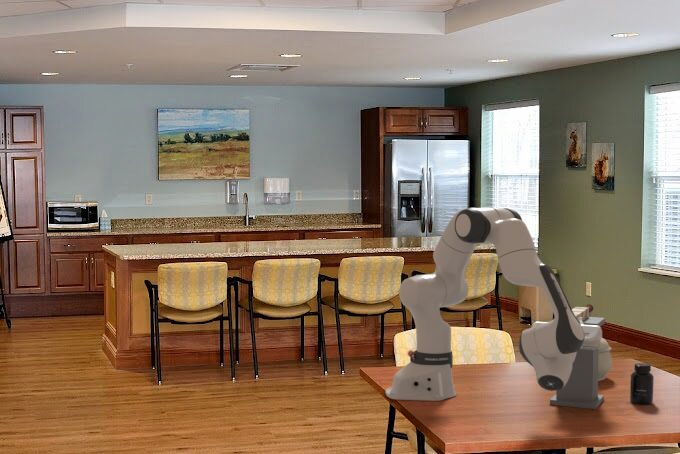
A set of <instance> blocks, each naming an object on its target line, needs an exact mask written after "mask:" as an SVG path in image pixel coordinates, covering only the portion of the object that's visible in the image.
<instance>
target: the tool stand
mask: <svg viewBox="0 0 680 454" xmlns="http://www.w3.org/2000/svg"><path fill="white" fill-rule="evenodd" d="M553 320H554V318H553V319H552V320H550V322H551V321H553ZM582 322H583V323H584V325H595V326H600V327H601V326H604V324H605V323H606V318H605V317H597V316H596V317H595V316H592V317H588V318H587V319H585V320H584V321H582ZM598 354H599V348H598V349H594V350H578V351H577V354H576V357H575V360H574V362H573V364H572V371H571V374H570V377H569V380H568V382H567V383H566V385H565V386H564V387H563V388H562V389H559V390H555V392H556V393H555V394H554V396H552V397H551V398H550V399H549V405H552V406H562V407H571V408H579V409H588V410H589V409H590V410H597V409H598V408H599V407H600V405H601V404H602V403H603V402H604V400H605V399H604V397H605V395H604V394H603V395H602V394H599V381H598Z"/></svg>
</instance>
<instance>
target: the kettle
mask: <svg viewBox="0 0 680 454" xmlns="http://www.w3.org/2000/svg"><path fill="white" fill-rule="evenodd" d="M584 307H587V308H589V317H593V313H592V312H593V311H594V306H593V304H586V305H585V306H584ZM611 351H612V347H611V346H610V345H609V343H608V342H607V340H606V339H605V338H603V337H602V338H601V341H600V346H599V354H598V382H602V381H605V380H606V378H607V377H606V375H608V374H609V372H610V371H611V370H612V368H613V358H612V354H611Z"/></svg>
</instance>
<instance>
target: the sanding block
mask: <svg viewBox="0 0 680 454" xmlns="http://www.w3.org/2000/svg"><path fill="white" fill-rule="evenodd" d="M571 309H572V311H573V313H574V315H575V317H576V318H577V317H582V321H584V320H585V319H587V318H588V317H589V308H587V307H585V306H584V307H582V306H575V307H574V308H571Z"/></svg>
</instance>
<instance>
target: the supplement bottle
mask: <svg viewBox="0 0 680 454" xmlns="http://www.w3.org/2000/svg"><path fill="white" fill-rule="evenodd" d="M651 366H652V365H651V364H649V363H645V362H644V363H643V362H637V363H636V362H635V363H634V371H633V372H632V373H631V374H630V388H629V389H630V390H629V391H630V392H629V401H630V402H631V403H632V404H634V405H643V406H648V405H651V404H653V402H654V400H653V399H654V383H655V382H654V381H655V379H654V375H653V373H651Z"/></svg>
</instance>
